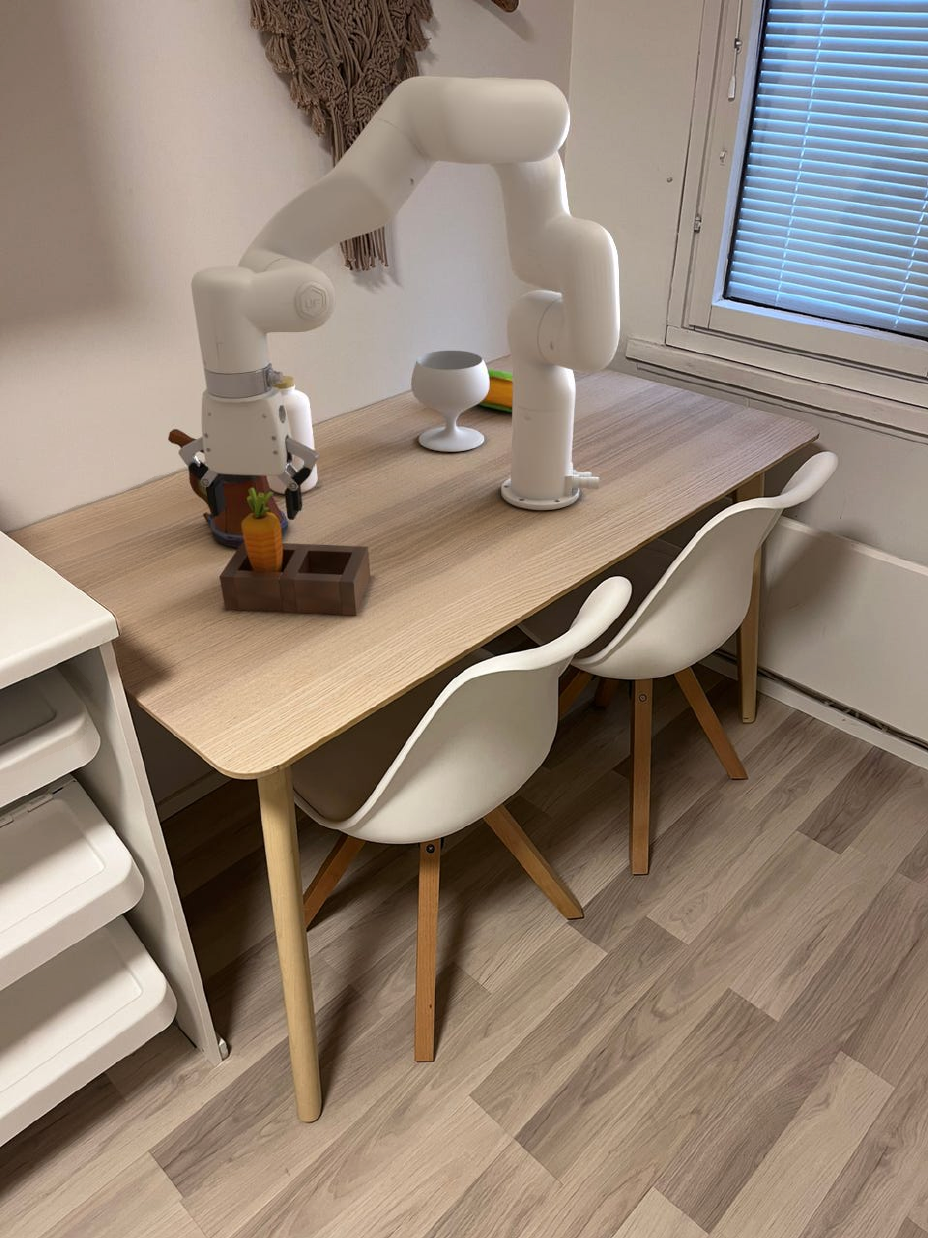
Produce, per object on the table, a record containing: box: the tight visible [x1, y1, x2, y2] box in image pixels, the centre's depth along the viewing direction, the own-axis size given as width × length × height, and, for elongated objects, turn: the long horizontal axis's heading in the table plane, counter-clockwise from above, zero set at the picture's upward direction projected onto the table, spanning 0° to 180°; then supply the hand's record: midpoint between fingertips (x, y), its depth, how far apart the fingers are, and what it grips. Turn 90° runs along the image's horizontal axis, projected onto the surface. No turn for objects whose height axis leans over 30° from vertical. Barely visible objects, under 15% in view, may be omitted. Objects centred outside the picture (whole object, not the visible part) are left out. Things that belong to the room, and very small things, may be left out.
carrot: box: [241, 488, 283, 572], centre depth 117 cm, size 5×5×15 cm
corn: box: [477, 368, 513, 413], centre depth 178 cm, size 7×8×20 cm
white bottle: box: [267, 375, 319, 495], centre depth 145 cm, size 8×8×18 cm
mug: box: [167, 428, 289, 549], centre depth 133 cm, size 18×12×15 cm, turn 63°
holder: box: [219, 542, 371, 617], centre depth 119 cm, size 17×10×5 cm, turn 84°
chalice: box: [410, 350, 490, 452], centre depth 162 cm, size 14×14×15 cm
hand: (256, 513), depth 114 cm, fingers open, 9 cm apart
